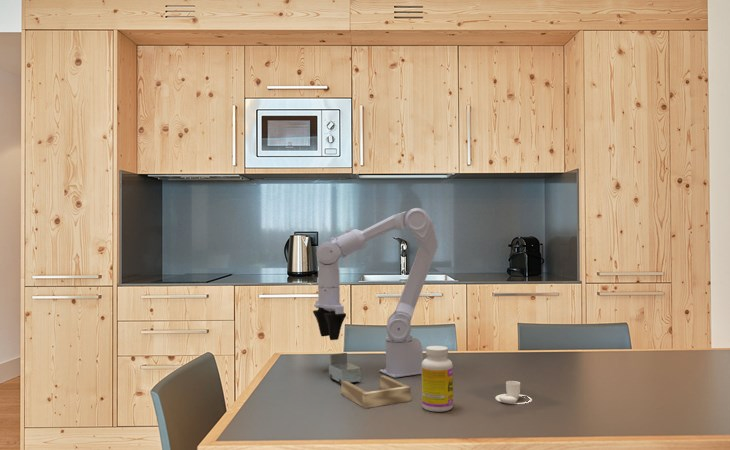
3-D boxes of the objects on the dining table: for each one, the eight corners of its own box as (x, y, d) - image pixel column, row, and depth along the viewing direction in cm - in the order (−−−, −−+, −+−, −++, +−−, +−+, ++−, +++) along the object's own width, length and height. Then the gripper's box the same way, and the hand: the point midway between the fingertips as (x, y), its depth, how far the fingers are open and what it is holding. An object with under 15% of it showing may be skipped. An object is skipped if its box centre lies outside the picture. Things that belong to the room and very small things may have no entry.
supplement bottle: (452, 413, 121) (451, 351, 121) (420, 412, 122) (419, 350, 122) (454, 404, 128) (453, 345, 128) (423, 402, 129) (422, 344, 129)
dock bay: (384, 387, 141) (384, 375, 141) (410, 400, 130) (410, 387, 130) (341, 394, 136) (341, 381, 136) (364, 408, 125) (364, 394, 125)
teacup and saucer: (509, 408, 125) (508, 389, 125) (485, 399, 132) (484, 381, 132) (539, 402, 129) (539, 384, 129) (515, 394, 136) (514, 376, 136)
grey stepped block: (328, 378, 150) (328, 354, 150) (348, 376, 153) (347, 352, 153) (341, 386, 143) (340, 360, 143) (361, 383, 146) (361, 358, 146)
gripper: (305, 285, 161) (305, 334, 161) (325, 290, 148) (326, 343, 148) (328, 284, 165) (329, 332, 165) (350, 288, 152) (351, 341, 152)
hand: (329, 337), depth 157 cm, fingers open, 6 cm apart
